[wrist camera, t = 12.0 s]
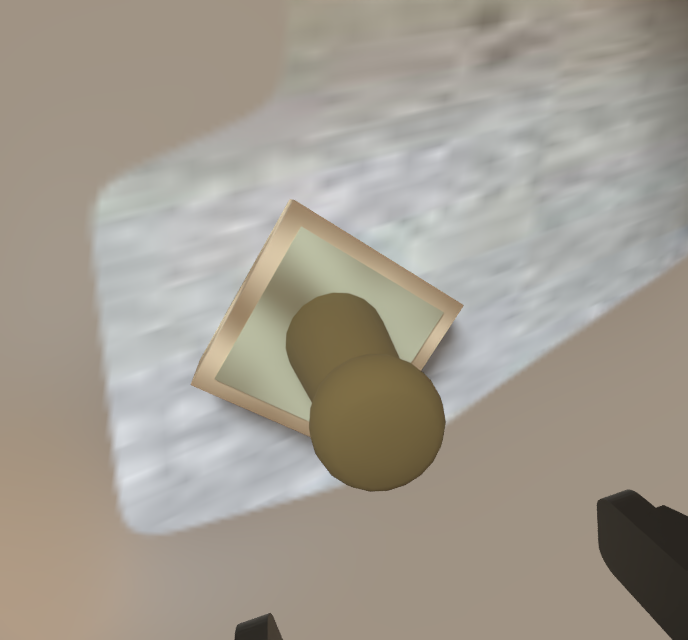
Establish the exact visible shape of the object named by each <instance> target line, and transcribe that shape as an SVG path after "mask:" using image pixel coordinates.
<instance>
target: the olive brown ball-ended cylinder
mask: <svg viewBox="0 0 688 640" xmlns="http://www.w3.org/2000/svg"><path fill="white" fill-rule="evenodd" d="M286 352H287V355H288V359H289V362H290V364H291V366H292V368H293V370H294V372H295V373H296V375H297V377H298V379H299V381H300V382H301V384H302V386H303V388H304V390H305V391H306V393H307V395H308V397H309V399H310V400H311V402H312V404H311V408H310V419H309V431H310V437H311V440H312V443H313V447H314V450H315V454H316V455H317V457H318V458H319V459H320V461H321V462H322V463H323V465H324V466H325V467H326V469H327V470H328V471H329V473H330V474H331V475H332V476H333V477H335V478H337V479H338V480H340V481H341V482H343V483H345V484H346V485H348V486H351V487H354V488H358V489H362V490H366V491H388V490H392V489H394V488H397V487H401V486H404V485H406V484H408V483H409V482H411V481H412V480H414V479H416V478H417V477H418V476H420V475H421V474H422V473H423V472H424V471H425V470H426V469H427V468H428V467H429V466H430V465H431V463H432V462H433V461H434V459H435V457H436V455H437V453H438V451H439V449H440V447H441V444H442V440H443V435H444V429H445V423H446V421H445V415H444V409H443V404H442V401H441V398H440V395H439V394H438V392H437V390H436V389H435V387H434V385H433V383H432V382H431V380H430V379H429V378H428V377H427V376H426V375H425V374H424V373H423V372H421V371H420V370H419V369H418V368H416V367H415V366H414V365H413V364H412V363H410V362H407V361H405V360H402V359H400V358H399V355H398V353H397V351H396V349H395V347H394V344H393V342H392V340H391V338H390V336H389V333H388V331H387V329H386V327H385V325H384V322H383V320H382V319H381V317H380V315H379V314H378V312H377V310H376V309H375V308H374V307H373V306H372V305H371V304H369V303H368V302H367V301H366V300H365V299H363V298H360V297H358V296H355V295H352V294H350V293H329V294H325V295H322V296H318V297H316V298H314V299H313V300H311V301H309V302H308V303H306V304H305V305H303V306H302V307H301V309H300V310H299V311H298V312H297V313H296V315H295V316H294V317H293V318H292V320H291V323H290V325H289V328H288V330H287V333H286Z"/></svg>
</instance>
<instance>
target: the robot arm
mask: <svg viewBox="0 0 688 640" xmlns="http://www.w3.org/2000/svg"><path fill="white" fill-rule="evenodd" d="M597 520H598V542H599V550H600V552H601V555H602V558H603V560H604V562H605V563H606V565H607V566H608V568H609V569H610V571H611V572H612V573H613V575H614V576H615V577H616V578H617V579H618V580H619V581H620V582H621V583H622V585H623V586H624V587H625V588H626V589H627V590H628V591H629V592H630V593H631V595H632V596H633V597H634V598H635V599H636V600H637V601H638V602H639V603H640V604H641V606H642V607H643V608H644V609H645V610H646V611H647V612H648V613H649V614H650V615H651V617H652V618H653V619H654V620H655V621H656V622H657V623H658V624H659V625H660V626H661V628H662V629H663V630H664V631H665V632H666V633H667V634H668V635H669V636H670V637H671V638H672V640H688V516H686V515H684V514H682V513H680V512H677V511H675V510H673V509H671V508H669V507H666V506H665V505H662V506H660V507H657V508H655V507H654V506H653V505H652V504H650V503H649V502H648V501H647V500H646V499H644V498H643V497H642V496H641V495H639V494H638V493H636V492H635V491H632V490H625V491H622V492H619V493H616V494H614V495H611V496H608V497H605V498H602V499H600V500H598V502H597ZM235 640H283V639H282V637H281V634H280V632H279V630H278V627H277V625H276V622H275V620H274V617H273V615H272V614H271V613H269V614H266V615H263V616H260V617H257V618H254V619H252V620H249V621H246V622H243V623H240V624H238V625H237V627H236V631H235Z"/></svg>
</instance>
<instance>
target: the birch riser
mask: <svg viewBox="0 0 688 640" xmlns="http://www.w3.org/2000/svg"><path fill="white" fill-rule="evenodd" d="M329 293H350V294H352V295H355V296H358V297H360V298H363V299H365V300H366V301H367V302H368V303H369V304H371V305H372V306H373V307H374V308H375V309H376V310H377V312H378V314H379V315H380V317H381V319H382V320H383V322H384V325H385V327H386V329H387V331H388V333H389V336H390V338H391V340H392V342H393V344H394V347H395V349H396V351H397V353H398V355H399V358H400V359H402V360H405V361H407V362H410V363H412V364H413V365H414V366H415V367H416V368H418V369H419V370H420V371H421V370H422V368H423V367H424V365H425V364H426V362H427V361H428V359H429V358H430V356H431V355H432V353H433V352H434V350H435V349H436V347H437V346H438V344H439V342H440V341H441V339H442V338H443V336H444V335H445V333H446V332H447V330H448V329H449V327H450V326H451V324H452V323H453V321H454V320H455V318H456V317H457V315H458V314H459V312H460V310H461V309H462V307H463V306H464V305H463V304H461V303H459V302H458V301H456V300H454V299H453V298H451V297H450V296H448V295H446V294H445V293H443V292H442V291H440V290H438V289H437V288H435V287H434V286H432V285H430V284H429V283H427V282H426V281H424V280H422V279H421V278H419V277H417V276H416V275H414V274H413V273H411V272H409V271H408V270H406V269H405V268H403V267H401V266H400V265H398V264H397V263H395V262H393V261H392V260H390V259H389V258H387V257H385V256H384V255H382V254H380V253H379V252H377V251H376V250H374V249H372V248H371V247H369V246H368V245H366V244H364V243H363V242H361V241H360V240H358V239H356V238H355V237H353V236H351V235H350V234H348V233H347V232H345V231H343V230H342V229H340V228H339V227H337V226H335V225H334V224H332V223H331V222H329V221H327V220H326V219H324V218H323V217H321V216H319V215H318V214H316V213H314V212H313V211H311V210H310V209H308V208H306V207H305V206H303V205H302V204H300V203H298V202H297V201H295V200H292V199H290V200H289V201H288V203H287V205H286V207H285V209H284V210H283V212H282V214H281V216H280V218H279V219H278V221H277V223H276V225H275V227H274V228H273V230H272V232H271V234H270V235H269V237H268V239H267V241H266V243H265V244H264V246H263V248H262V250H261V252H260V253H259V255H258V257H257V259H256V261H255V262H254V264H253V266H252V268H251V269H250V271H249V273H248V275H247V277H246V278H245V280H244V282H243V284H242V286H241V287H240V289H239V291H238V293H237V295H236V296H235V298H234V300H233V302H232V304H231V305H230V307H229V309H228V311H227V312H226V314H225V316H224V318H223V320H222V321H221V323H220V325H219V327H218V329H217V330H216V332H215V334H214V336H213V338H212V339H211V341H210V343H209V345H208V347H207V348H206V350H205V352H204V354H203V355H202V357H201V359H200V361H199V364H198V366H197V369H196V372H195V374H194V377H193V380H192V382H191V385H192V386H194V387H196V388H199V389H201V390H203V391H206V392H208V393H210V394H213V395H215V396H217V397H219V398H222V399H224V400H226V401H229V402H231V403H233V404H236V405H238V406H240V407H242V408H245V409H247V410H249V411H252V412H254V413H256V414H259V415H261V416H263V417H266V418H268V419H270V420H272V421H275V422H277V423H279V424H282V425H284V426H286V427H289V428H291V429H293V430H295V431H298V432H300V433H302V434H305V435H307V436H309V437H310V431H309V419H310V408H311V404H312V402H311V400H310V399H309V397H308V395H307V393H306V391H305V390H304V388H303V386H302V384H301V382H300V381H299V379H298V377H297V375H296V373H295V372H294V370H293V368H292V366H291V364H290V362H289V359H288V355H287V352H286V333H287V330H288V328H289V325H290V323H291V320H292V318H293V317H294V316H295V315H296V313H297V312H298V311H299V310H300V309H301V307H302V306H303V305H305V304H306V303H308V302H309V301H311V300H313V299H314V298H316V297H318V296H322V295H325V294H329Z"/></svg>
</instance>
